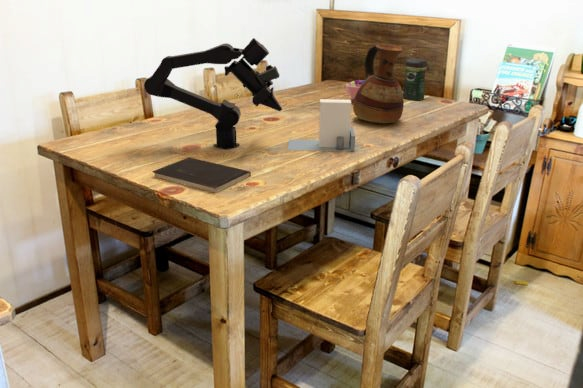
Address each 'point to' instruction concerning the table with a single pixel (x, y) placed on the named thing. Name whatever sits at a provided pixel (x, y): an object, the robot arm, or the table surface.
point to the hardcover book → (202, 174)
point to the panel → (334, 122)
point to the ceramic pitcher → (380, 88)
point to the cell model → (353, 87)
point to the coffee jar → (414, 79)
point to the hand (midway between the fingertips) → (281, 110)
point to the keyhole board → (315, 146)
